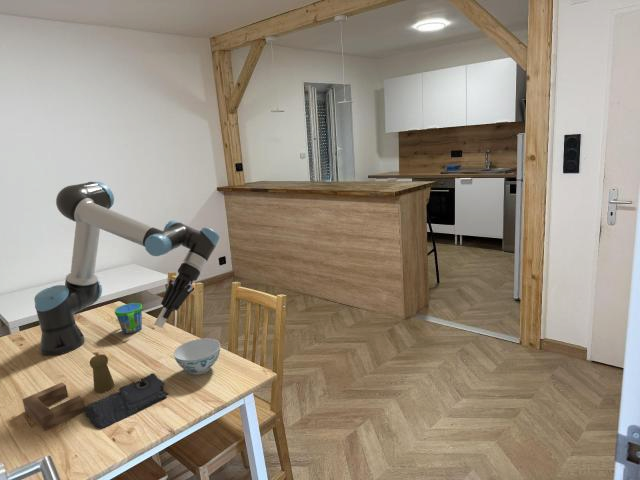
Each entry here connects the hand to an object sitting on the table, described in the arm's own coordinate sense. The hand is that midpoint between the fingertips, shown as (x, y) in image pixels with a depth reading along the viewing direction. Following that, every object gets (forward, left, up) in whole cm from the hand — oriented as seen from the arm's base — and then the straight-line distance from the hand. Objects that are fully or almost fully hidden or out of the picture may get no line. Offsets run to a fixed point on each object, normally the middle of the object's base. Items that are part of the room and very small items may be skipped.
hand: (158, 326), depth 153 cm
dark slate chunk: (+25, +7, -14) cm, 29 cm away
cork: (+20, -7, -13) cm, 25 cm away
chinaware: (+3, +17, -13) cm, 22 cm away
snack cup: (-18, -31, -13) cm, 39 cm away
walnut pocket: (+33, -12, -13) cm, 38 cm away
